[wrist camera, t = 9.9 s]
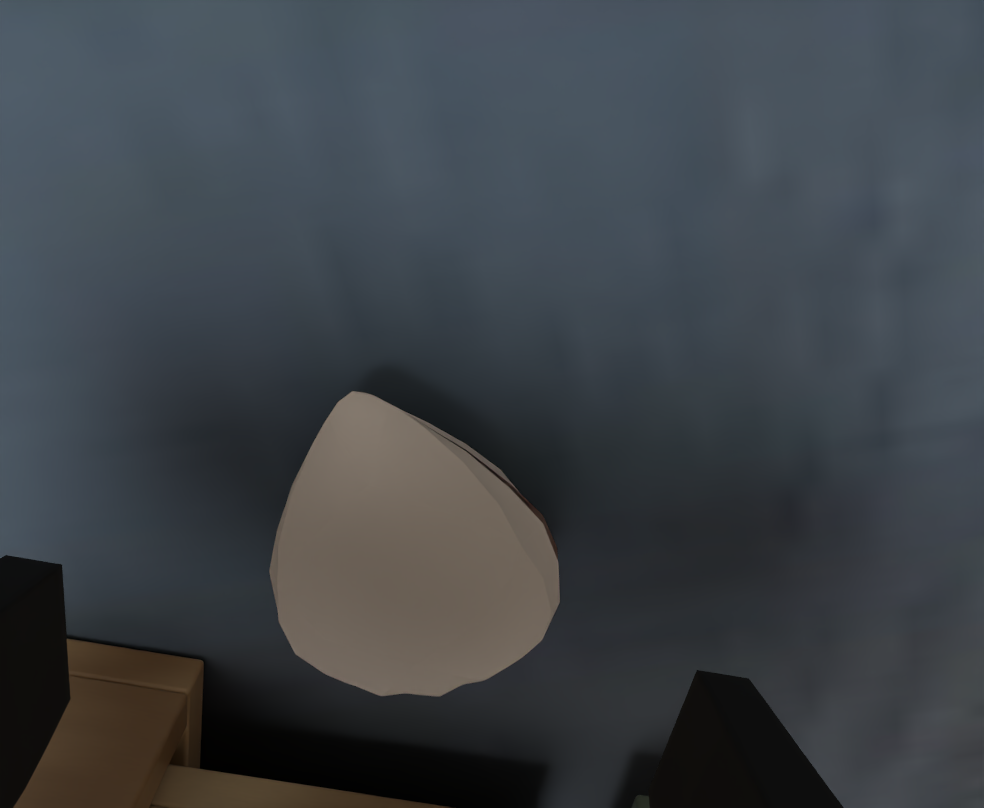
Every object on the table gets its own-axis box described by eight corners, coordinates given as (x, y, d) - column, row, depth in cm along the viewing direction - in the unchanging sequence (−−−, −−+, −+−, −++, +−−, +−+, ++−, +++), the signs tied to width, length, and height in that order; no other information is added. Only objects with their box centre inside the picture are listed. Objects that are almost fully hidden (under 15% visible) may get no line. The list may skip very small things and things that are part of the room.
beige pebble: (333, 634, 14) (299, 753, 12) (231, 382, 12) (165, 468, 10) (574, 595, 14) (586, 711, 11) (512, 324, 12) (511, 401, 9)
